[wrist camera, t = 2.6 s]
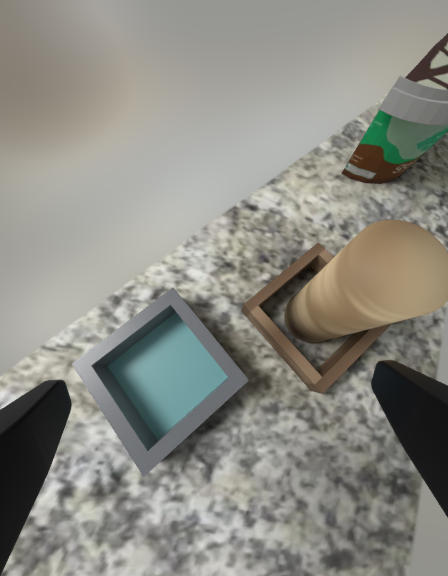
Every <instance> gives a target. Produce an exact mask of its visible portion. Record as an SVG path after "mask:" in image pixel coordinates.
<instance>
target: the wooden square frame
mask: <svg viewBox="0 0 448 576" xmlns="http://www.w3.org/2000/svg"><path fill="white" fill-rule="evenodd" d="M333 258H334V257H333V256H332V255H331V254H330V253H329V252H328V251H327V250H326V249H325V248H324V247H323V246H322V245H321V244H320V243H317V244H316V245H315V246H314V247H312V248H311V249H310V250H309V251H308V252H306V253H305V254H304V255H303V256H302V257H300V258H299V259H298V260H297V261H296V262H294V263H293V264H292V265H291V266H290V267H288V268H287V269H286V270H285V271H284V272H282V273H281V274H280V275H279V276H277V277H276V278H275V279H274V280H273V281H271V282H270V283H269V284H268V285H267V286H265V287H264V288H263V289H262V290H261V291H259V292H258V293H257V294H256V295H255V296H253V297H252V298H251V299H250V300H249V301H247V302H246V303H245V304H244V305H243V308H242V312H243V314H244V315H245V316H246V317H247V318H248V319H249V320H250V322H251V323H252V324H253V325H254V326H255V327H256V328H257V330H258V331H259V332H260V333H261V334H262V335H263V336H264V338H265V339H266V340H267V341H268V342H269V343H270V344H271V346H272V347H273V348H274V349H275V350H276V351H277V353H278V354H279V355H280V356H281V357H282V358H283V359H284V361H285V362H286V363H287V364H288V365H289V366H290V367H291V369H292V370H293V371H294V372H295V373H296V374H297V375H298V377H299V378H300V379H301V380H302V381H303V382H304V383H305V385H306V386H307V387H308V388H309V389H310V390H311V391H314V392H318V393H322V394H323V393H324V392H325V391H326V390H327V389H328V388H329V387H330V386H331V385H332V384H333V383H334V382H335V381H336V380H337V379H338V378H339V377H340V376H341V375H342V374H343V373H344V371H345V370H346V369H347V368H348V367H349V366H350V365H351V364H352V363H353V362H354V361H355V360H356V359H357V358H358V357H359V356H360V355H361V354H362V353H363V352H364V351H365V350H366V349H367V348H368V347H369V346H370V345H371V344H372V343H373V342H374V341H375V340H376V339H377V338H378V337H379V336H380V335H381V334H382V333H383V332H384V331H385V330H386V329H387V328H388V327H389V326H390V325H391V324H392V323H391V324H387V325H383V326H379V327H375V328H371V329H368V330H364V331H360V332H356V333H354V334H353V335H352V336H351V337H350V338H349V339H348V340H347V341H346V342H345V343H344V344H343V345H342V346H341V347H340V348H339V349H338V350H337V351H336V352H335V353H334V354H333V355H332V356H331V357H329V358H328V359H327V360H326V361H325V362H324V363H323V364H322V365H321V366H320V367H319V368H318V369H317V370H315V369H314V367H313V366H312V365H311V364H310V363H309V362H308V361H307V360H306V358H305V357H304V356H303V355H302V354H301V353H300V352H299V351H298V350H297V348H296V347H295V346H294V345H293V344H292V343H291V342H290V341H289V340H288V338H287V337H286V336H285V335H284V334H283V333H282V332H281V331H280V330H279V328H278V327H277V326H276V325H275V324H274V323H273V322H272V321H271V319H270V318H269V317H268V316H267V315H266V314H265V313H264V312H263V311H262V309H261V308H260V307H261V306H262V305H263V304H264V303H266V302H267V301H268V300H269V299H270V298H271V297H273V296H274V295H275V294H276V293H277V292H278V291H280V290H281V289H282V288H283V287H284V286H286V285H287V284H288V283H289V282H290V281H291V280H293V279H294V278H295V277H296V276H297V275H299V274H300V273H301V272H302V271H303V270H304V269H306V268H307V267H308V266H310V267H311V268H312V269H313V270H314V271H315V272H316V273H317V274H318V273H319V272H320V271H321V270H322V269H323V268H324V267H325V266H326V265H327V264H328V263H329V262H330V261H331V260H332V259H333Z"/></svg>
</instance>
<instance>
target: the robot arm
mask: <svg viewBox="0 0 448 576" xmlns="http://www.w3.org/2000/svg"><path fill="white" fill-rule="evenodd" d="M371 385H372V389H373V392H374V394H375V396H376V398H377V399H378V401H379V403H380V405H381V407H382V409H383V411H384V413H385V415H386V417H387V419H388V421H389V423H390V424H391V426H392V428H393V430H394V432H395V434H396V436H397V438H398V439H399V441H400V443H401V445H402V446H403V448H404V449H405V451H406V453H407V454H408V456H409V457H410V459H411V461H412V462H413V464H414V465H415V467H416V468H417V470H418V472H419V473H420V475H421V476H422V478H423V479H424V481H425V483H426V484H427V486H428V487H429V489H430V490H431V492H432V494H433V495H434V497H435V498H436V500H437V501H438V503H439V505H440V506H441V508H442V509H443V511H444V512H445V514H446V516H447V517H448V386H447V385H445V384H443V383H441V382H439V381H437V380H435V379H432V378H430V377H428V376H426V375H424V374H422V373H420V372H418V371H415V370H413V369H411V368H409V367H407V366H405V365H403V364H400V363H398V362H396V361H394V360H383V361H379V362H378V363H377V364H376V367H375V371H374V374H373V378H372V382H371ZM70 411H71V399H70V396H69V393H68V390H67V386H66V384H65V382H64V381H63V380H48V381H45V382H43V383H41V384H40V385H38V386H37V387H35V388H34V389H32V390H31V391H29V392H27V393H26V394H24V395H23V396H21V397H20V398H18V399H16V400H15V401H13V402H12V403H10V404H9V405H7V406H6V407H4V408H2V409H1V410H0V576H1V574H2V571H3V569H4V567H5V565H6V563H7V561H8V558H9V556H10V554H11V552H12V550H13V548H14V546H15V543H16V541H17V539H18V537H19V535H20V533H21V530H22V528H23V526H24V524H25V522H26V520H27V518H28V515H29V513H30V511H31V509H32V507H33V505H34V502H35V500H36V498H37V496H38V494H39V492H40V489H41V487H42V485H43V483H44V481H45V479H46V476H47V474H48V472H49V469H50V467H51V464H52V461H53V459H54V456H55V453H56V450H57V448H58V445H59V442H60V439H61V436H62V434H63V431H64V428H65V425H66V422H67V420H68V417H69V414H70Z"/></svg>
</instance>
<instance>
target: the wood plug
mask: <svg viewBox="0 0 448 576" xmlns="http://www.w3.org/2000/svg"><path fill="white" fill-rule="evenodd" d="M447 301H448V252H447V250H446V249H445V247H444V246H443V245H442V244H441V242H440V241H439V240H438V239H437V238H436V237H435V236H433V235H432V234H431V233H429V232H428V231H426V230H425V229H423V228H421V227H419V226H417V225H415V224H412V223H409V222H406V221H401V220H383V221H379V222H376V223H373V224H371V225H369V226H367V227H366V228H364V229H363V230H362V231H361V232H360V233H359V234H358V235H357V236H356V237H355V238H354V239H353V240H352V241H351V242H350V243H349V244H348V245H347V246H346V247H345V248H344V249H342V250H341V251H340V252H339V253H338V254H337V255H336V256H335V257H334V258H333V259H332V260H331V261H330V262H329V263H328V264H327V265H326V266H325V267H324V268H323V269H322V270H321V271H320V272H319V273H318V274H317V275H316V276H315V277H313V278H312V279H311V280H310V281H309V282H308V283H307V284H306V285H305V286H304V287H303V288H302V289H301V290H300V291H299V292H298V293H297V294H296V295H295V296H294V297H293V298H292V299H291V300H290V301H289V302H288V304H287V306H286V308H285V313H284V318H285V323H286V326H287V328H288V329H289V331H290V332H291V333H292V335H293V336H295V337H296V338H297V339H299V340H301V341H304V342H307V343H317V342H321V341H325V340H329V339H333V338H337V337H341V336H345V335H348V334H352V333H356V332H360V331H364V330H368V329H371V328H375V327H379V326H383V325H387V324H391V323H395V322H398V321H402V320H406V319H410V318H414V317H418V316H422V315H425V314H429V313H432V312H434V311H436V310H438V309H440V308H441V307H442V306H443V305H445V303H446V302H447Z"/></svg>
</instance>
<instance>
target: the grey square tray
mask: <svg viewBox="0 0 448 576" xmlns="http://www.w3.org/2000/svg"><path fill="white" fill-rule="evenodd" d="M72 365H73V367H74V368H75V370H76V371H77V373H78V374H79V376H80V378H81V379H82V381H83V382H84V384H85V385H86V387H87V389H88V390H89V392H90V393H91V395H92V396H93V398H94V400H95V401H96V403H97V404H98V406H99V407H100V409H101V411H102V412H103V414H104V415H105V417H106V418H107V420H108V422H109V423H110V425H111V426H112V428H113V429H114V431H115V433H116V434H117V436H118V437H119V439H120V440H121V442H122V444H123V445H124V447H125V448H126V450H127V451H128V453H129V455H130V456H131V458H132V459H133V461H134V462H135V464H136V466H137V467H138V469H139V470H140V472H141V473H142V475H143V477H144V476H145V475H146V474H147V473H148V472H149V471H151V470H152V469H153V468H154V467H155V466H156V465H157V464H158V463H159V462H160V461H161V460H163V459H164V458H165V457H166V456H167V455H168V454H169V453H170V452H171V451H172V450H173V449H175V448H176V447H177V446H178V445H179V444H180V443H181V442H182V441H183V440H184V439H185V438H187V437H188V436H189V435H190V434H191V433H192V432H193V431H194V430H195V429H196V428H197V427H199V426H200V425H201V424H202V423H203V422H204V421H205V420H206V419H207V418H208V417H209V416H211V415H212V414H213V413H214V412H215V411H216V410H217V409H218V408H219V407H220V406H221V405H223V404H224V403H225V402H226V401H227V400H228V399H229V398H230V397H231V396H232V395H233V394H235V393H236V392H237V391H238V390H239V389H240V388H241V387H242V386H243V385H244V384H245V383H247V382H248V381H249V380H248V378H247V377H246V376H245V375H244V373H243V372H242V371H241V370H240V369H239V367H238V366H237V365H236V364H235V362H234V361H233V360H232V359H231V358H230V356H229V355H228V354H227V353H226V351H225V350H224V349H223V348H222V347H221V345H220V344H219V343H218V342H217V340H216V339H215V338H214V337H213V335H212V334H211V333H210V332H209V331H208V329H207V328H206V327H205V326H204V324H203V323H202V322H201V321H200V320H199V318H198V317H197V316H196V315H195V313H194V312H193V311H192V310H191V309H190V307H189V306H188V305H187V304H186V302H185V301H184V300H183V299H182V297H181V296H180V295H179V294H178V293H177V291H176V290H175V289H174V288H172V289H170V290H169V291H168V292H166V293H165V294H164V295H162V296H161V297H160V298H158V299H157V300H156V301H154V302H153V303H152V304H150V305H149V306H148V307H146V308H145V309H144V310H142V311H141V312H140V313H138V314H137V315H136V316H134V317H133V318H132V319H131V320H129V321H128V322H127V323H125V324H124V325H123V326H121V327H120V328H119V329H117V330H116V331H115V332H113V333H112V334H111V335H109V336H108V337H107V338H105V339H104V340H103V341H101V342H100V343H99V344H97V345H96V346H95V347H93V348H92V349H91V350H89V351H88V352H87V353H85V354H84V355H83V356H81V357H80V358H79V359H77V360H76V361H75V362H74V363H72Z"/></svg>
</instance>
